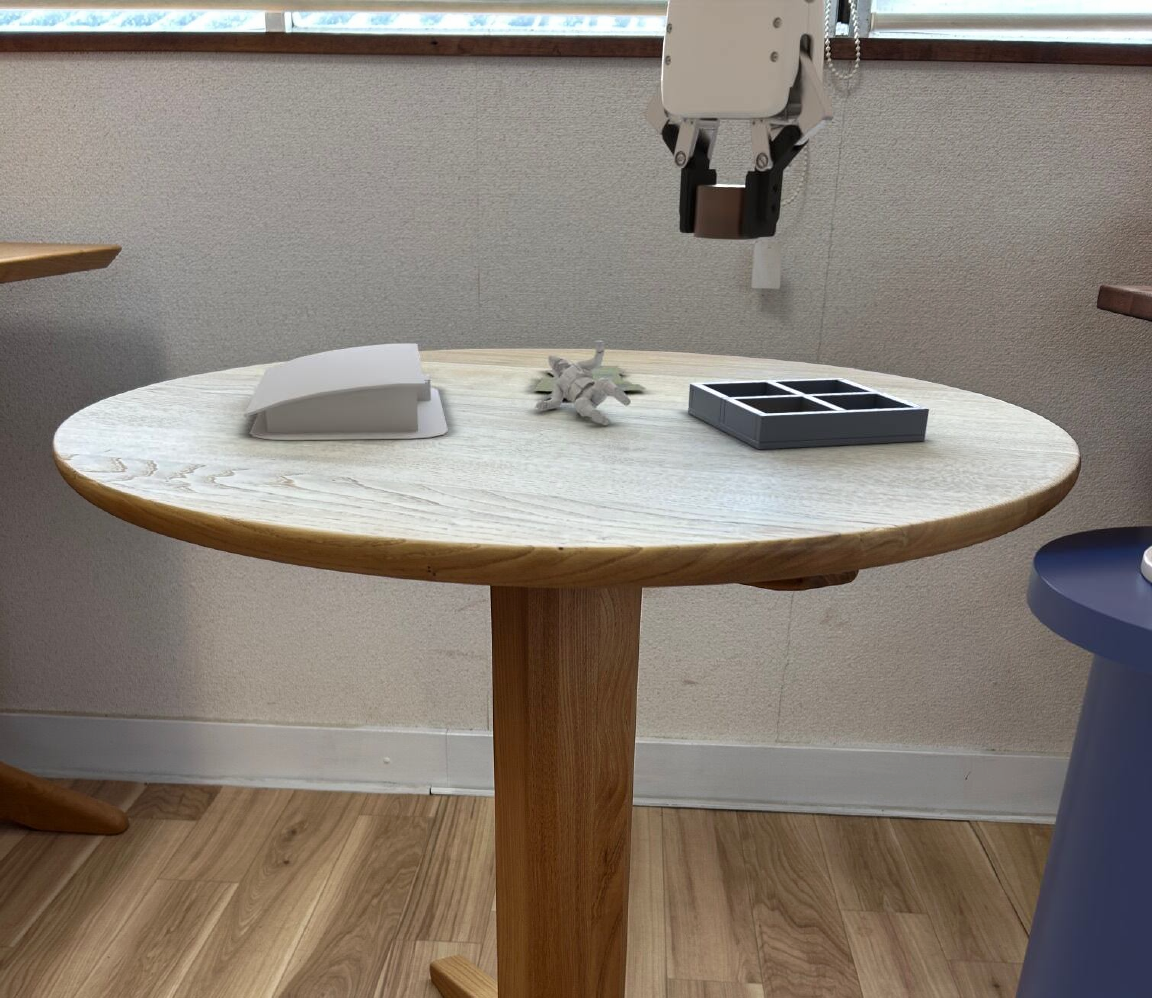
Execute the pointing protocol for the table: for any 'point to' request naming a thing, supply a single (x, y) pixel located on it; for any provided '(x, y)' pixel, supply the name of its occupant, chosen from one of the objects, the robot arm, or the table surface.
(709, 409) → the grid
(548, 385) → the map
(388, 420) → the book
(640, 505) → the table surface
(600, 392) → the soldier figure
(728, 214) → the cylinder
